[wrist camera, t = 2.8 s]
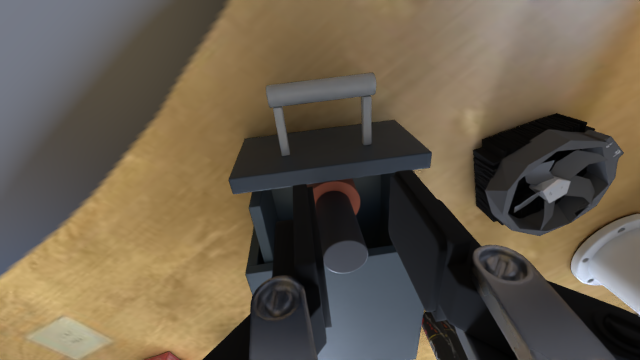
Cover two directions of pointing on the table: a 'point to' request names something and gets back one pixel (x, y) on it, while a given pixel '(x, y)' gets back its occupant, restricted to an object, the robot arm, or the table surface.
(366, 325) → the cabinet
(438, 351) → the deodorant
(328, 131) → the drawer
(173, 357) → the ink cartridge box
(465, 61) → the table surface
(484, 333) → the robot arm
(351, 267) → the nail polish bottle
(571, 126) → the cpu cooler
